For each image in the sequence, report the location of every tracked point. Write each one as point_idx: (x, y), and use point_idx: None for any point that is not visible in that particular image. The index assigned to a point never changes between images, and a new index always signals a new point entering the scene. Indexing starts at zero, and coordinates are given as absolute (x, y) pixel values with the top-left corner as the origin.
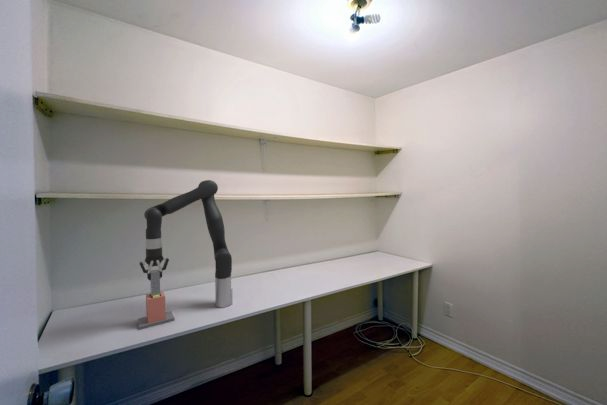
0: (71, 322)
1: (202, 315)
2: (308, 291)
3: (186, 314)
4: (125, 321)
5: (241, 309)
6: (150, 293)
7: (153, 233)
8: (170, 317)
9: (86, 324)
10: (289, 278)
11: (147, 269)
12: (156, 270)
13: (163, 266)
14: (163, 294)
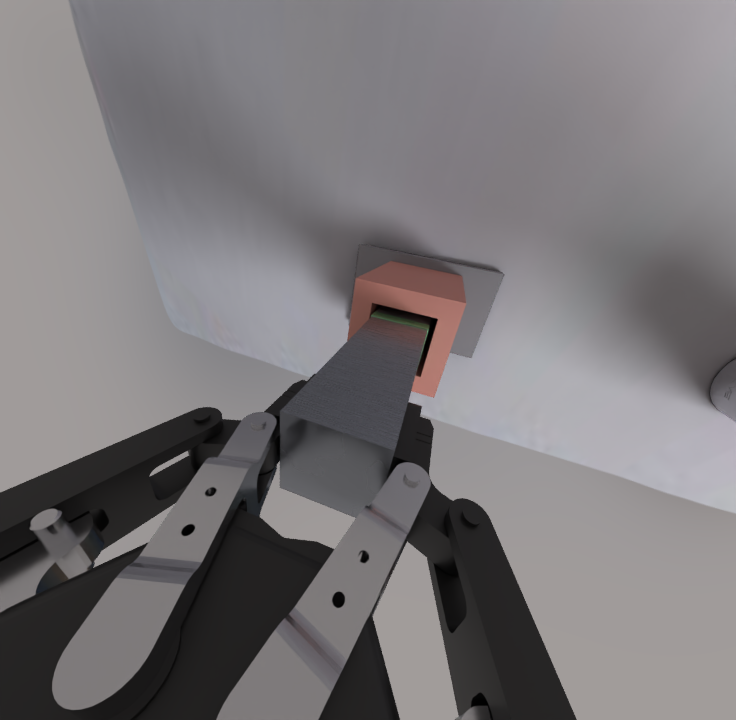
0: (139, 10)
1: (580, 396)
2: None
3: (542, 336)
4: (326, 199)
5: None
6: (374, 312)
7: None
8: (461, 342)
9: (199, 100)
10: None
11: (229, 442)
12: (353, 471)
13: (455, 549)
14: (438, 368)
